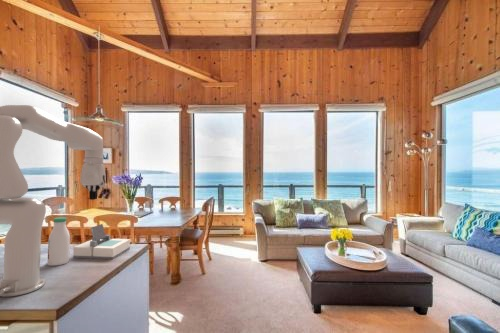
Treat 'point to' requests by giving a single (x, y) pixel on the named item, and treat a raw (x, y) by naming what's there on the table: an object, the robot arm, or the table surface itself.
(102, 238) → the lock flap
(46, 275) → the table surface
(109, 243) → the white boxy piece
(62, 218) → the milk bottle
